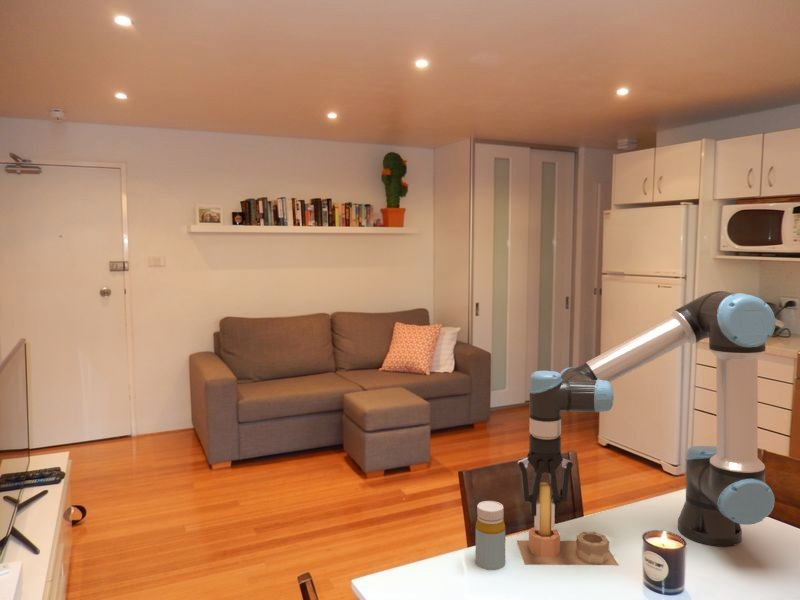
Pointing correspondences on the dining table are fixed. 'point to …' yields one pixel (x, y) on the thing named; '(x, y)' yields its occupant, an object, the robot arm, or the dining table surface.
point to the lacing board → (563, 558)
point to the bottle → (490, 535)
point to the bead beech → (592, 547)
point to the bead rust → (544, 543)
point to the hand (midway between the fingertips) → (544, 527)
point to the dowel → (545, 509)
